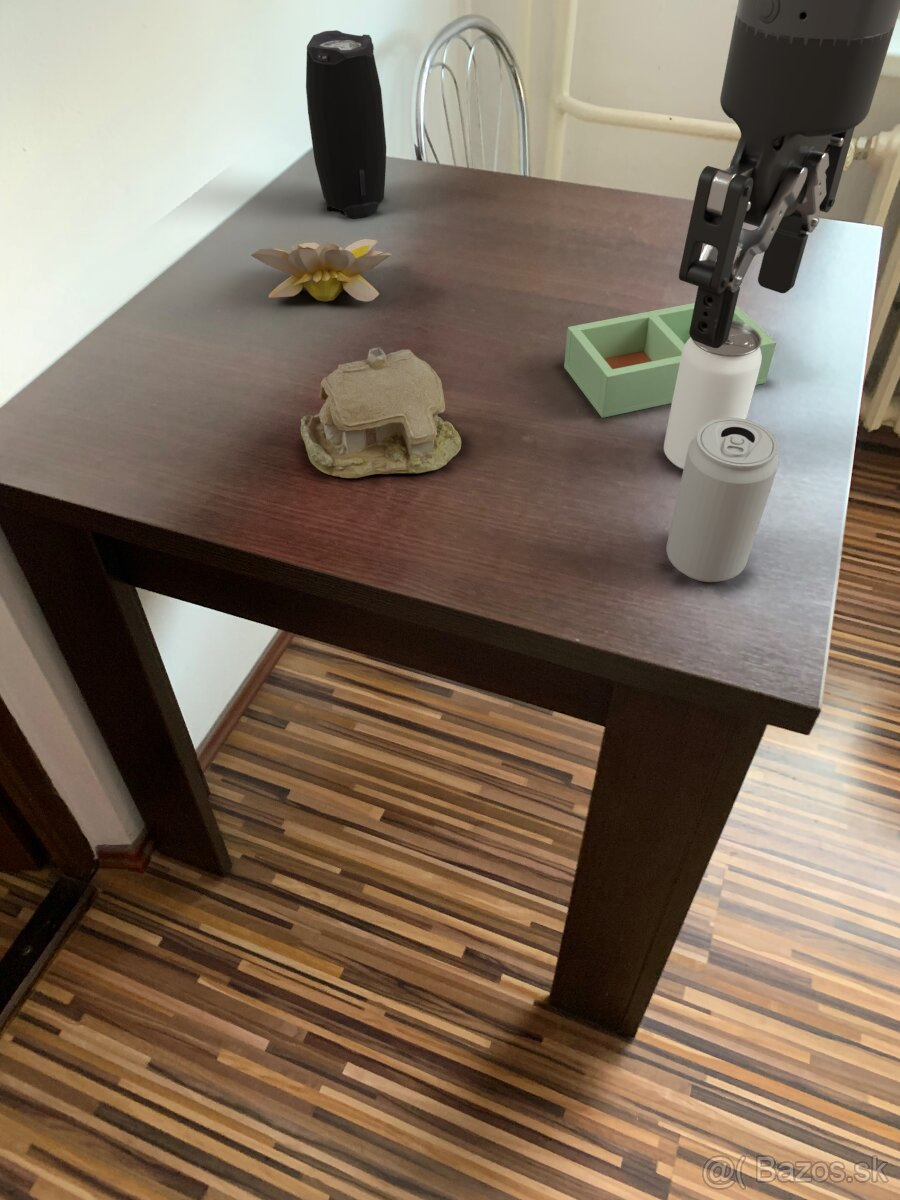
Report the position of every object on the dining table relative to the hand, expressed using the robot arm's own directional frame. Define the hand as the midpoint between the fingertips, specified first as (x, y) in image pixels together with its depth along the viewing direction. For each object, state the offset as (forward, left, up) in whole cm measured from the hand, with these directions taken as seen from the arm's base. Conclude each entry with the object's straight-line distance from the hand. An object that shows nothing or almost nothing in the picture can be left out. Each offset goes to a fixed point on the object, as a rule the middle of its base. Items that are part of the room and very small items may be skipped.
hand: (742, 313), depth 55 cm
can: (-8, -12, -22) cm, 27 cm away
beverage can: (-2, 0, -22) cm, 22 cm away
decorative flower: (+17, -53, -22) cm, 60 cm away
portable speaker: (+9, -75, -22) cm, 79 cm away
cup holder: (-11, -25, -22) cm, 35 cm away
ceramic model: (+19, -23, -22) cm, 37 cm away
